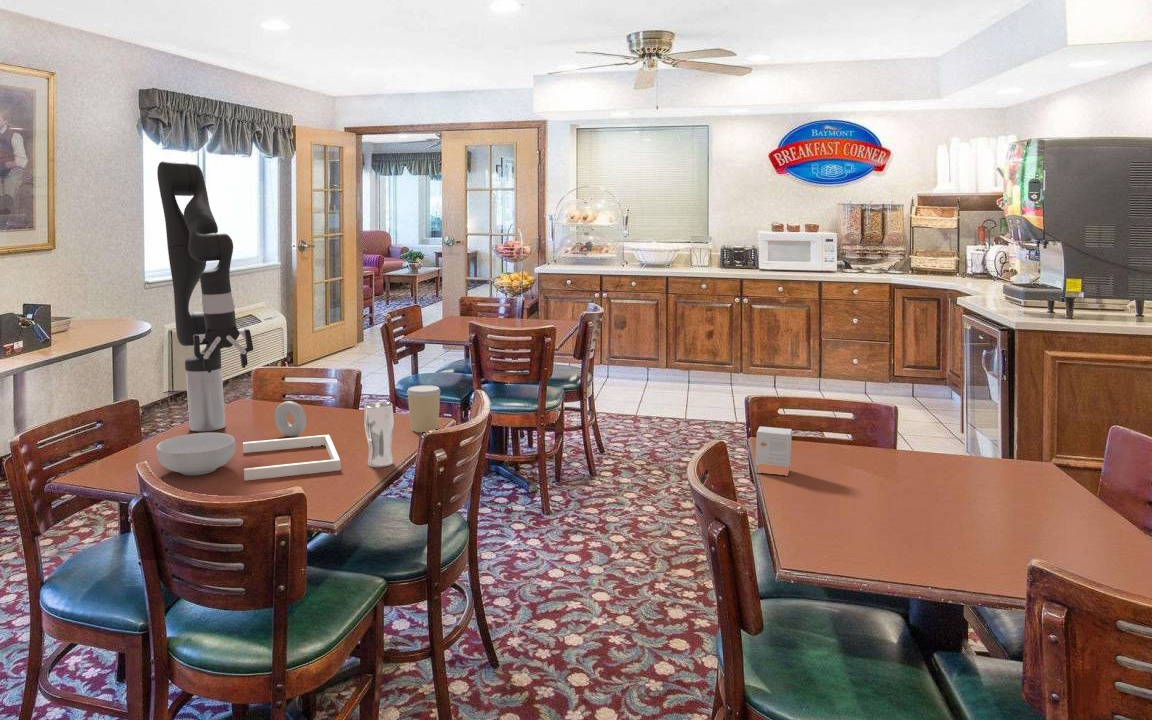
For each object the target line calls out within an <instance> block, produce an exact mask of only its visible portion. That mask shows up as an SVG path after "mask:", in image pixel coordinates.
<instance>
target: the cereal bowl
mask: <svg viewBox="0 0 1152 720" xmlns="http://www.w3.org/2000/svg"><path fill="white" fill-rule="evenodd" d="M155 449H156V455H157V459H158V461H159V463H160V464H161V465H162V466H163V467H164V468H165V469H167V470H169V471H172V472H175V473H180V474H181V475H183V476H200V475H206V474H211V473H213V472H215V471H216V470H217V469H218V468H221V467H222V466H224V465H226V464H227V463H228V462H229V461H230V460H232V458H233V457H234V455H235V451H236V439H235V436H232V435H230V434H228V433H225V432H224V433H222V432H198V433H197V432H196V433H189V434H187V433H186V434H182V435H178V436H174V437H170V438H168V439H164V440H162V441H160V442H159V443H158V444H157V445H156V447H155Z"/></svg>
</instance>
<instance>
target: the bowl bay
mask: <svg viewBox="0 0 1152 720" xmlns="http://www.w3.org/2000/svg"><path fill="white" fill-rule="evenodd" d="M321 445H323V446H325V447H326V450H327V453H328V456H329V458H330V459H326V460H325V459H323V460H314V461H306V462H305V461H303V462H296V463H285V464H275V465H268V466H265V465H264V466H257V467H246V468H243V476H244V477H243V479H244V481H245V482H246V481H252V480H253V481H254V480H255V481H256V480H264V479H273V478H280V477H281V478H282V477H289V476H300V475H309V474H311V475H312V474H318V473H327V472H328V473H329V472H334V471H335V472H337V471H338V472H339V471H341V468H342V467H341V459H340V457H339V455H338V454H339V453H338V452H337V450H336V447H335V445H334V442H333V440H332V438H331V436H330V434H323V435H313V436H311V435H309V436H300V437H299V436H296V437H287V438H277V439H267V440H255V441H245V442H242V450H243V454H247V453H257V452H268V451H269V452H270V451H279V450H290V449H301V448H309V447H310V448H311V446H313V447H321Z"/></svg>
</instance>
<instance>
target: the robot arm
mask: <svg viewBox="0 0 1152 720" xmlns="http://www.w3.org/2000/svg"><path fill="white" fill-rule="evenodd" d="M157 182H158V187H159V188H158V189H159V193H160V195H159V196H160V198H161V204H162V209H163V215H164V222H165V223H164V224H165V230H166V231H165V232H166V243H167V253H168V254H167V255H168V261H169V262H168V263H169V268H170V273H171V280H172V286H173V299H174V300H173V302H174V318H175V331H176V338H177V340H178V343H179V344H180V345H181V346H183V347H191V346H193V356H190V357H188V358H186V360H185V361H184V369H185V381H186V383H185V384H186V393H187V394H186V395H187V410H188V424H189V430H190V431H192V432H200V433H203V432H212V431H213V432H214V431H218V430H221V429H224V428H225V427H226V418H225V417H226V415H225V400H224V384H223V371H222V352H221V351H222V350H221V349H223V348H227V349H231V347H233V346H234V347H235V348H236V349H237V350H238V351H239V352H240V353H239V358H240V365H241V368H242V369H246V366H248V364H249V363H248V356H247V354H248V353H249V352H252V351H254V344H253V339H252V334H251V330H250V329H249V328H247V327H245V328H244V329H241V330H240V329H239V330H238V327H237V326H238V325H237V319H236V312H235V311H236V310H235V307H236V306H235V303H234V302H235V301H234V298H233V293H232V287H231V286H232V285H231V280H230V279H231V277H230V275H231V274H230V271H231V264H232V263H231V262H232V257H233V252H234V243H233V239H232V238H231V236H230V235H229V234H227V233H225V232H219V228H218V224H217V222H216V219H215V217H214V215H213V213H212V209H211V206H210V201H209V196H208V191H207V186H206V180H205V177H204V174H203V171H202V169H201V166H199V165H198V164H197V163H194V162H188V161H187V162H185V161H170V160H169V161H167V160H166V161H161V162H159V163H158V166H157ZM176 196H177V197H178V196H180V197H192V198H191V199H189V202H187V204H186V205H185V207H184V209H183V212H182V210H181V209H180V205H179V204H178V201H177V199H176ZM215 261H216V262H217V261H218V264H217V265H216V266H214V267H213V268H211V269H207V270H206V267H207V262H215ZM199 281H200V282H199ZM198 282H199V283H200V289H201V301H202V304H201V305H202V311H191V312H190V311H189V310H190V309H189V307H190V300H191V297H192V295H193V292H194V289H195V288H196V285H198ZM240 335H241V336H242V337H243V338H244V339H245V343H246V344H245V345H246V346H244V347H243V345H240V343H239V342H237V340H238V338H239V336H240ZM204 345H205V348H204V349H203V350H202V351H201V346H204Z"/></svg>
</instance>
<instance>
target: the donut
mask: <svg viewBox="0 0 1152 720" xmlns="http://www.w3.org/2000/svg"><path fill="white" fill-rule="evenodd" d="M289 414H290V415H291V417H292V418H293V423H292V424H291V423H290V422H289V421H288V415H289ZM273 415H274V419H273V420H274V424H275V426H276V428H277V430H278V431H279V432H280V433H281V434H282V435H283V436H286V437H287V438H296V437H299V435H301V434H302V433H303V432H304V431H305V428H306V427H307V415H306V413H305V410H304V409H303V407H302V406H301V405H300V404H299V403H297V402H295V401H291V400H288V401H287V400H286V401H284V402H281V403H280V404H279V405H278V406H277V407H276V409H275V412H274V414H273Z"/></svg>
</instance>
